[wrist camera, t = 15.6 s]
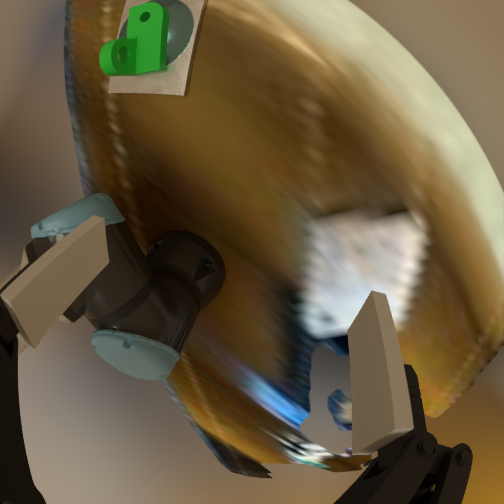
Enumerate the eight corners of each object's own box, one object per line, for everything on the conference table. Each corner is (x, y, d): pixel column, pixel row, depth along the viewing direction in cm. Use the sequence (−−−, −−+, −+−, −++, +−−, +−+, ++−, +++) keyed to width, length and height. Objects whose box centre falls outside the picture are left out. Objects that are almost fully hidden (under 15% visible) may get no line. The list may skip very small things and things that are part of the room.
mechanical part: (166, 70, 31) (135, 67, 24) (132, 76, 31) (98, 76, 25) (170, 1, 24) (142, -14, 18) (136, 10, 25) (105, 0, 18)
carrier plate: (187, 95, 34) (183, 95, 33) (112, 92, 34) (107, 93, 33) (213, -20, 23) (210, -23, 22) (134, -12, 23) (129, -14, 22)
